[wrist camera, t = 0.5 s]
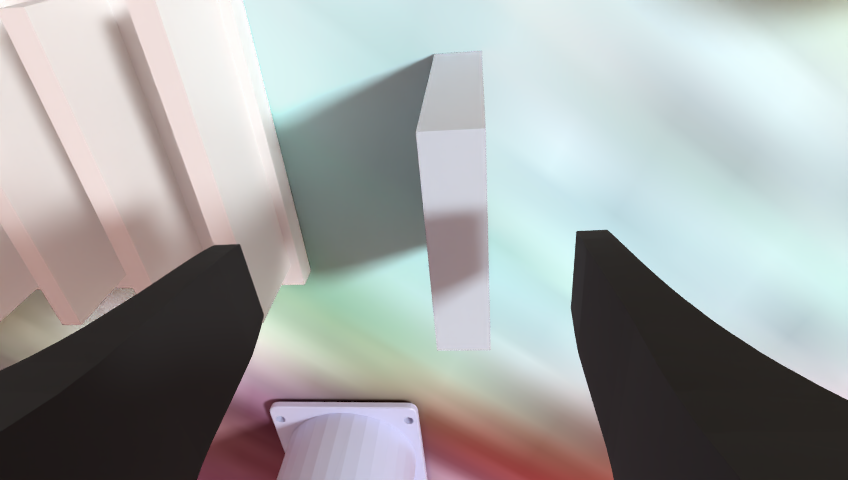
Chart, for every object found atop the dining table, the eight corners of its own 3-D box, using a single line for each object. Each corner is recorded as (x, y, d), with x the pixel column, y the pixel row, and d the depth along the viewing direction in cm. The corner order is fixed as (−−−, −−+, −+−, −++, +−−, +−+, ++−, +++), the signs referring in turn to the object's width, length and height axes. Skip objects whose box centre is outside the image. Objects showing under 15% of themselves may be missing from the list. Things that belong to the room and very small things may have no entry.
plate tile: (486, 226, 22) (490, 350, 16) (446, 227, 22) (437, 350, 16) (481, 50, 18) (485, 128, 12) (434, 53, 18) (415, 132, 12)
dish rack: (310, 270, 24) (280, 342, 20) (-13, 277, 25) (-97, 344, 22) (226, -65, 16) (154, -51, 13) (-214, -22, 18) (-391, 1, 15)
